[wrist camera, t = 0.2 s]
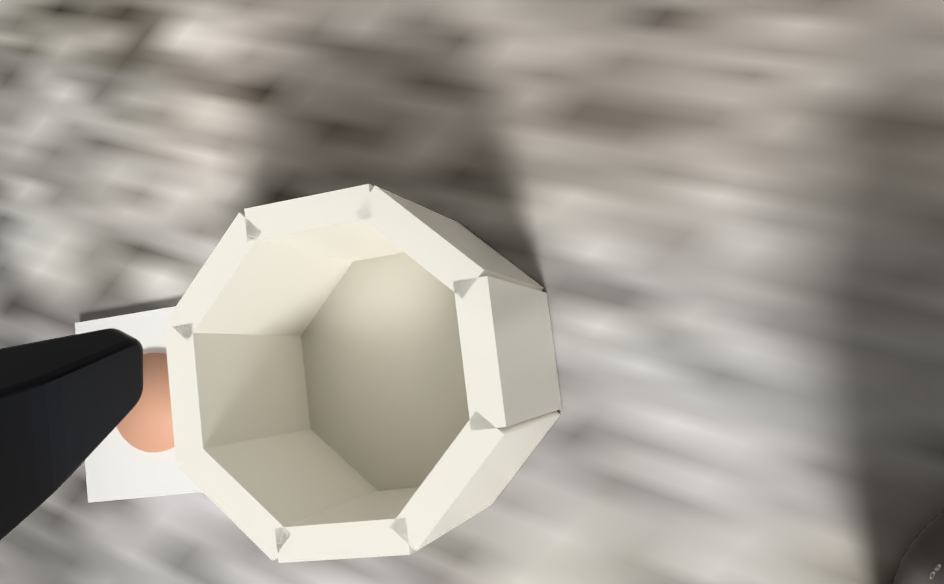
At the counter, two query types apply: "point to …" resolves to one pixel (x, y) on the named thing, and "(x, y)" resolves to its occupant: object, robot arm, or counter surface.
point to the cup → (357, 375)
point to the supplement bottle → (924, 556)
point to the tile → (139, 423)
